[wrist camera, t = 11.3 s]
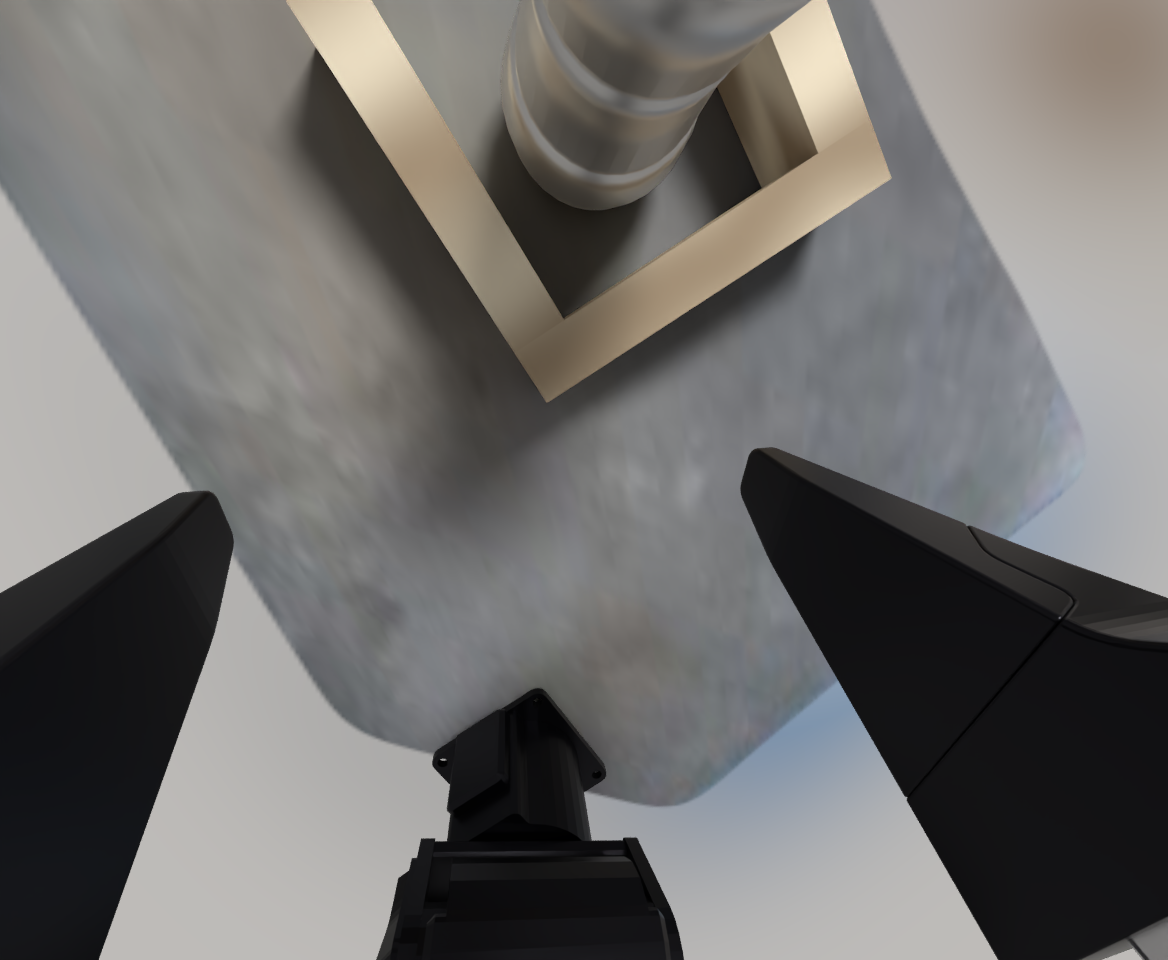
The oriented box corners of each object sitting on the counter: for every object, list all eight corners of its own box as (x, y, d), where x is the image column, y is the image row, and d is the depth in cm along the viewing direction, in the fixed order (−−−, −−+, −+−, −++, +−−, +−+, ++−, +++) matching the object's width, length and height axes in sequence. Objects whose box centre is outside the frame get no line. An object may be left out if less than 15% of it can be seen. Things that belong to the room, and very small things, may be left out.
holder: (822, 207, 21) (891, 178, 18) (540, 392, 22) (547, 403, 18) (659, -190, 17) (702, -341, 13) (315, 45, 18) (261, -37, 14)
